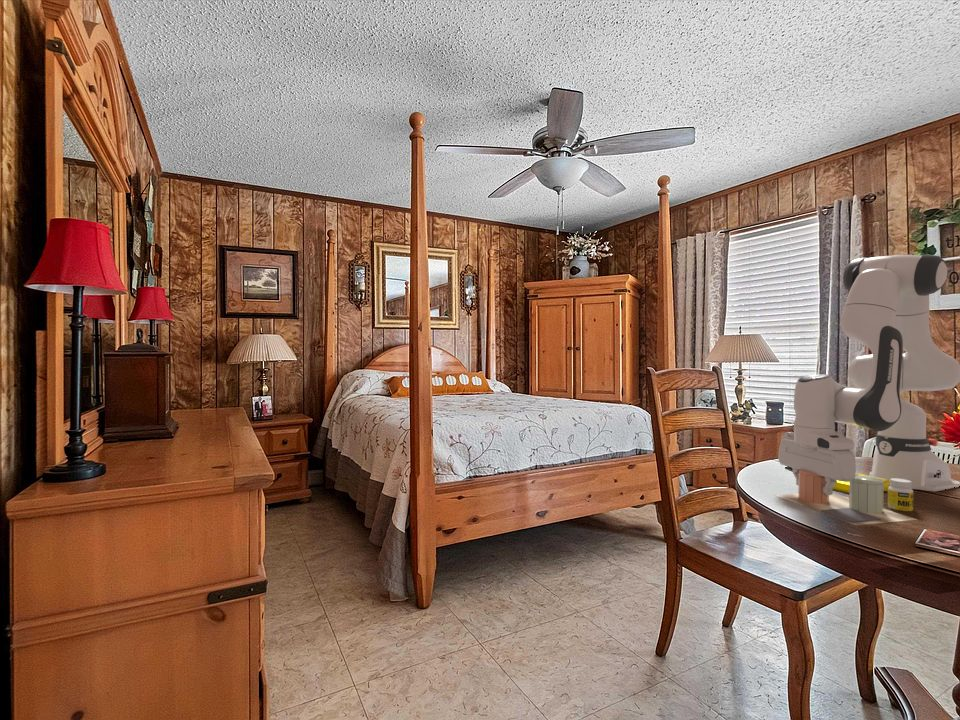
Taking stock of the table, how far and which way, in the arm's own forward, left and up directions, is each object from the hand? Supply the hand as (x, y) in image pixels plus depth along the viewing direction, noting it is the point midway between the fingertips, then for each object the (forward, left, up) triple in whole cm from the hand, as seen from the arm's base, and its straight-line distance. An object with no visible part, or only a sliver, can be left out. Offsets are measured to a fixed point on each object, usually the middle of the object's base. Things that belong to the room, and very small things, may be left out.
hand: (813, 489), depth 128 cm
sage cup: (-6, +9, -3) cm, 11 cm away
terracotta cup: (0, 0, -3) cm, 3 cm away
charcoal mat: (+2, +12, -3) cm, 12 cm away
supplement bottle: (-15, +10, -4) cm, 19 cm away
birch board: (-2, +6, -4) cm, 8 cm away
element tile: (-21, -9, -5) cm, 23 cm away
